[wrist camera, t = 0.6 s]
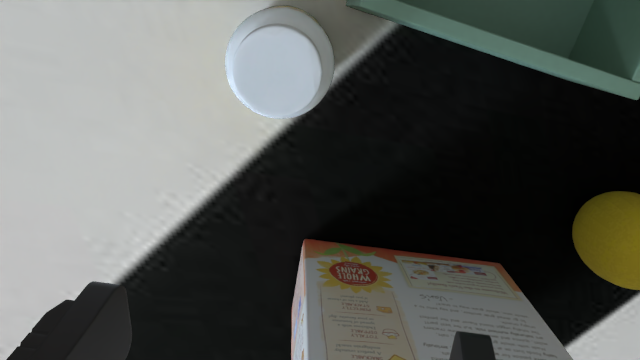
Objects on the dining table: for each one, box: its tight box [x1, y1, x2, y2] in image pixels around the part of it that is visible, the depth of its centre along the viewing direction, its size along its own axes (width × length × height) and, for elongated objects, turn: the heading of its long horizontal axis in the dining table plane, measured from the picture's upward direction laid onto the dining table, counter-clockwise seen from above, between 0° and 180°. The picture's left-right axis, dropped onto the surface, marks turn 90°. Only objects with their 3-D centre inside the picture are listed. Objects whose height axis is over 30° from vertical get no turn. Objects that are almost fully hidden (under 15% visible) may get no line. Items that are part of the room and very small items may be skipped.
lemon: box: [572, 191, 640, 290], centre depth 33 cm, size 6×6×8 cm
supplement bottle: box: [225, 6, 334, 119], centre depth 28 cm, size 5×5×10 cm
